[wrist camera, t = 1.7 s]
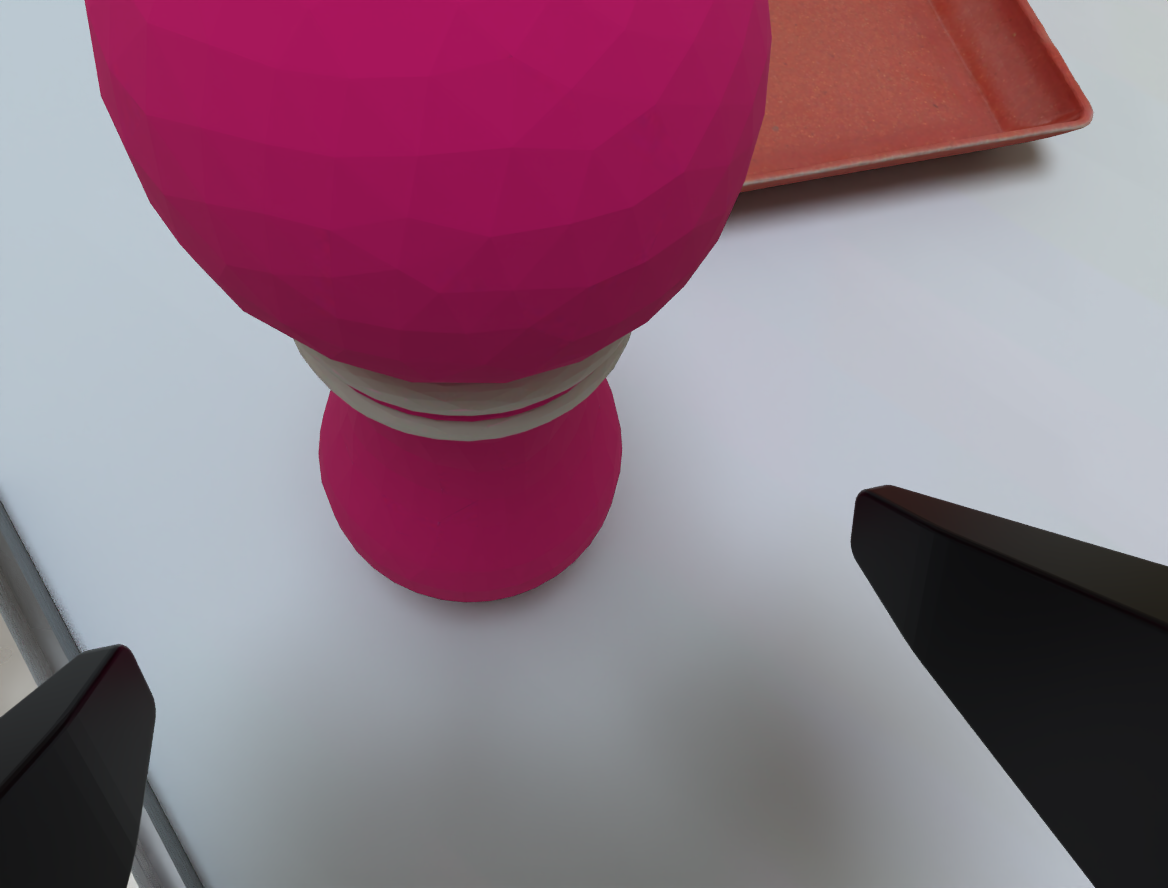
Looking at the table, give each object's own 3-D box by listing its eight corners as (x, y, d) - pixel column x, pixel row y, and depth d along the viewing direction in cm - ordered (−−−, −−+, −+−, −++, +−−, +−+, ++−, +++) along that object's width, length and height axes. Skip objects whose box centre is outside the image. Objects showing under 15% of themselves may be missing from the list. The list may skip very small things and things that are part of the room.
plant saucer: (629, 257, 26) (649, 196, 23) (505, -95, 31) (507, -183, 28) (1040, 181, 30) (1105, 121, 26) (868, -121, 35) (906, -201, 32)
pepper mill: (309, 561, 21) (-1469, -777, 2) (420, 355, 23) (136, -1089, 4) (541, 658, 21) (1098, 272, 2) (627, 441, 23) (1230, -659, 4)
